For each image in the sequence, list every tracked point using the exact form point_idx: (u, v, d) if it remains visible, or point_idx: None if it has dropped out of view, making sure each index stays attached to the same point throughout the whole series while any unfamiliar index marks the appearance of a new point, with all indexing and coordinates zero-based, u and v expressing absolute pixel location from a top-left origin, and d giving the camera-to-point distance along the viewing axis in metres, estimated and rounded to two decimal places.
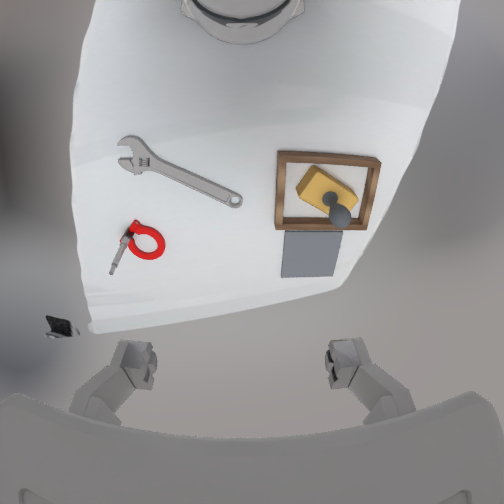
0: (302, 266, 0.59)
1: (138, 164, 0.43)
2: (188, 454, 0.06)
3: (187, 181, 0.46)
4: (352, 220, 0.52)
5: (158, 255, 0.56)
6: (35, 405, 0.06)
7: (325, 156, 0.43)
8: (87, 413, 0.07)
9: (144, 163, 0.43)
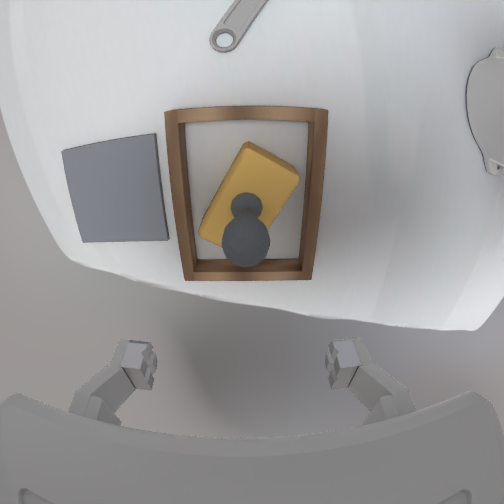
0: (88, 183, 0.26)
1: None
2: (188, 454, 0.06)
3: None
4: (194, 251, 0.31)
5: None
6: (35, 405, 0.06)
7: None
8: (87, 413, 0.07)
9: None
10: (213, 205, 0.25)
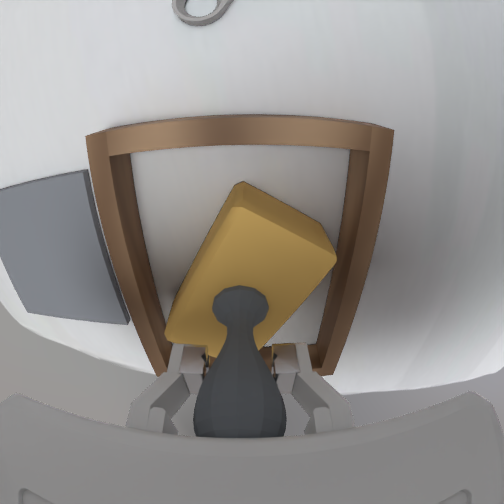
0: (14, 243, 0.15)
1: None
2: (188, 454, 0.06)
3: None
4: (167, 340, 0.20)
5: None
6: (35, 405, 0.06)
7: None
8: (149, 426, 0.07)
9: None
10: (183, 302, 0.14)
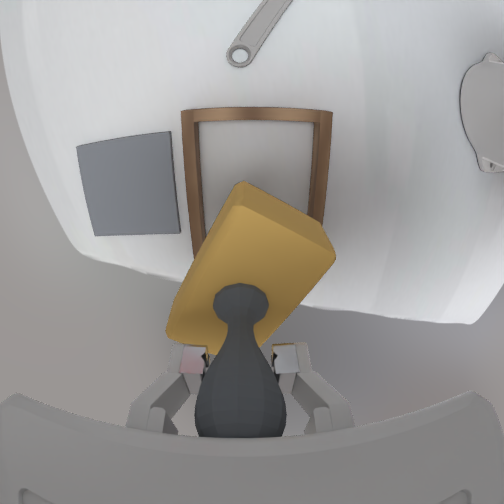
0: (102, 178, 0.28)
1: None
2: (188, 454, 0.06)
3: None
4: None
5: None
6: (35, 405, 0.06)
7: None
8: (150, 426, 0.07)
9: None
10: (184, 299, 0.14)
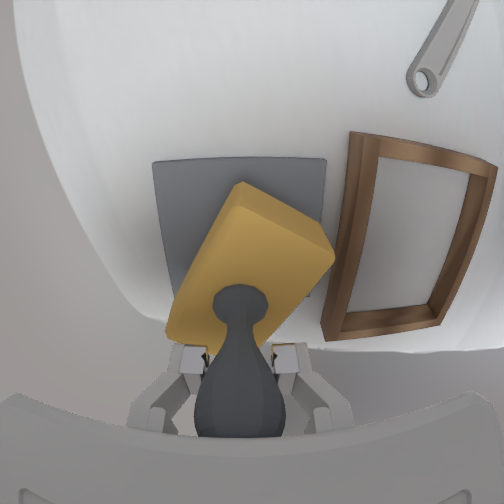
0: (200, 219, 0.20)
1: None
2: (188, 454, 0.06)
3: (458, 10, 0.09)
4: None
5: None
6: (35, 405, 0.06)
7: None
8: (150, 426, 0.07)
9: None
10: (183, 300, 0.14)
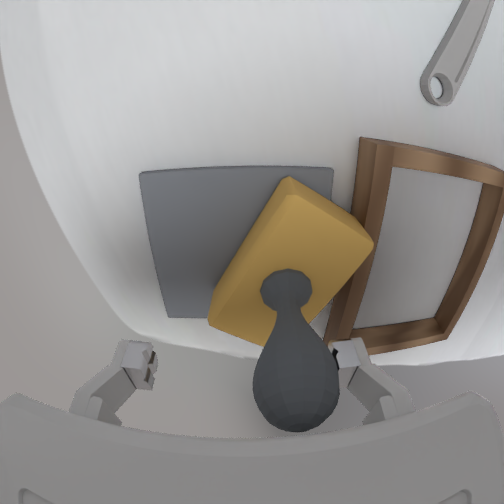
0: (193, 235, 0.18)
1: None
2: (188, 454, 0.06)
3: (473, 12, 0.08)
4: None
5: None
6: (35, 405, 0.06)
7: None
8: (88, 413, 0.07)
9: None
10: (231, 285, 0.15)
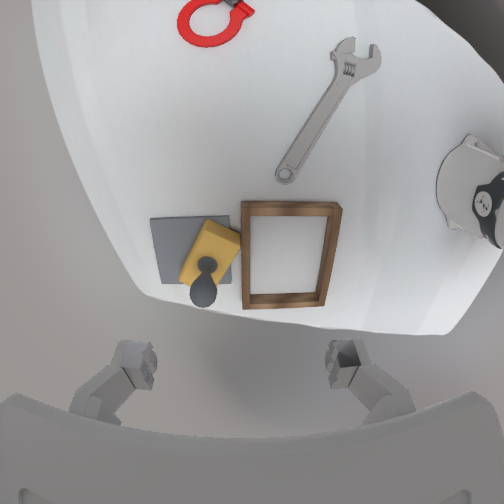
0: (172, 245, 0.42)
1: (347, 60, 0.28)
2: (188, 454, 0.06)
3: (318, 117, 0.32)
4: None
5: (185, 36, 0.26)
6: (35, 405, 0.06)
7: None
8: (87, 413, 0.07)
9: (348, 68, 0.28)
10: (186, 263, 0.39)
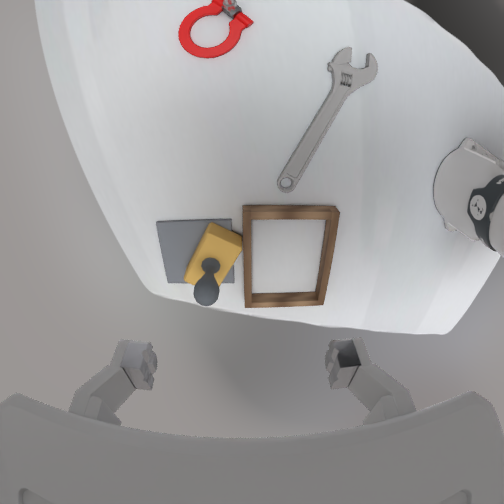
0: (178, 246, 0.44)
1: (344, 71, 0.29)
2: (188, 454, 0.06)
3: (316, 128, 0.34)
4: None
5: (186, 47, 0.28)
6: (35, 405, 0.06)
7: None
8: (87, 413, 0.07)
9: (344, 79, 0.30)
10: (191, 264, 0.42)
